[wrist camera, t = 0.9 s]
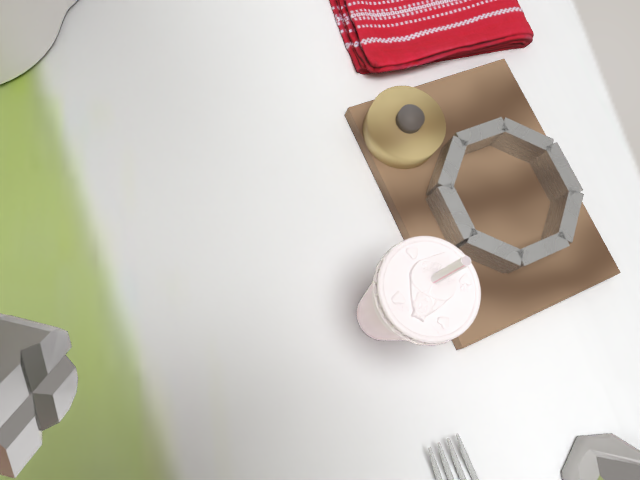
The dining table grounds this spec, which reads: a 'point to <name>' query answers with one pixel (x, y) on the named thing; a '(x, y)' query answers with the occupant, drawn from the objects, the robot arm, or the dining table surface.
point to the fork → (455, 460)
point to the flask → (597, 443)
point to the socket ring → (546, 167)
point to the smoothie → (421, 293)
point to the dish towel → (427, 30)
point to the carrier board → (476, 188)
